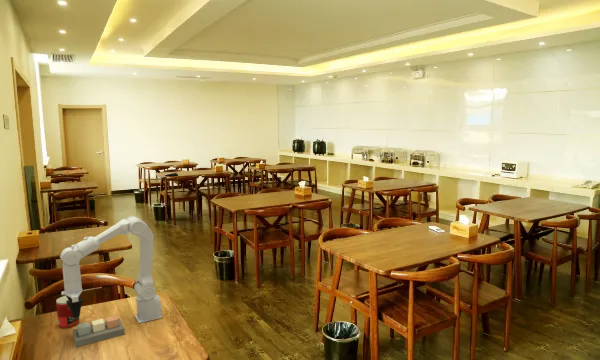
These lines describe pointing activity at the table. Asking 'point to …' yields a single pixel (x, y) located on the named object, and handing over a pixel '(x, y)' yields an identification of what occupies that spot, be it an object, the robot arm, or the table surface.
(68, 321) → the canned food
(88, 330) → the key slate
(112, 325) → the key terracotta
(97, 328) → the key ivory
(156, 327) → the table surface
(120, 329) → the keypad base
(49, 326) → the table surface
